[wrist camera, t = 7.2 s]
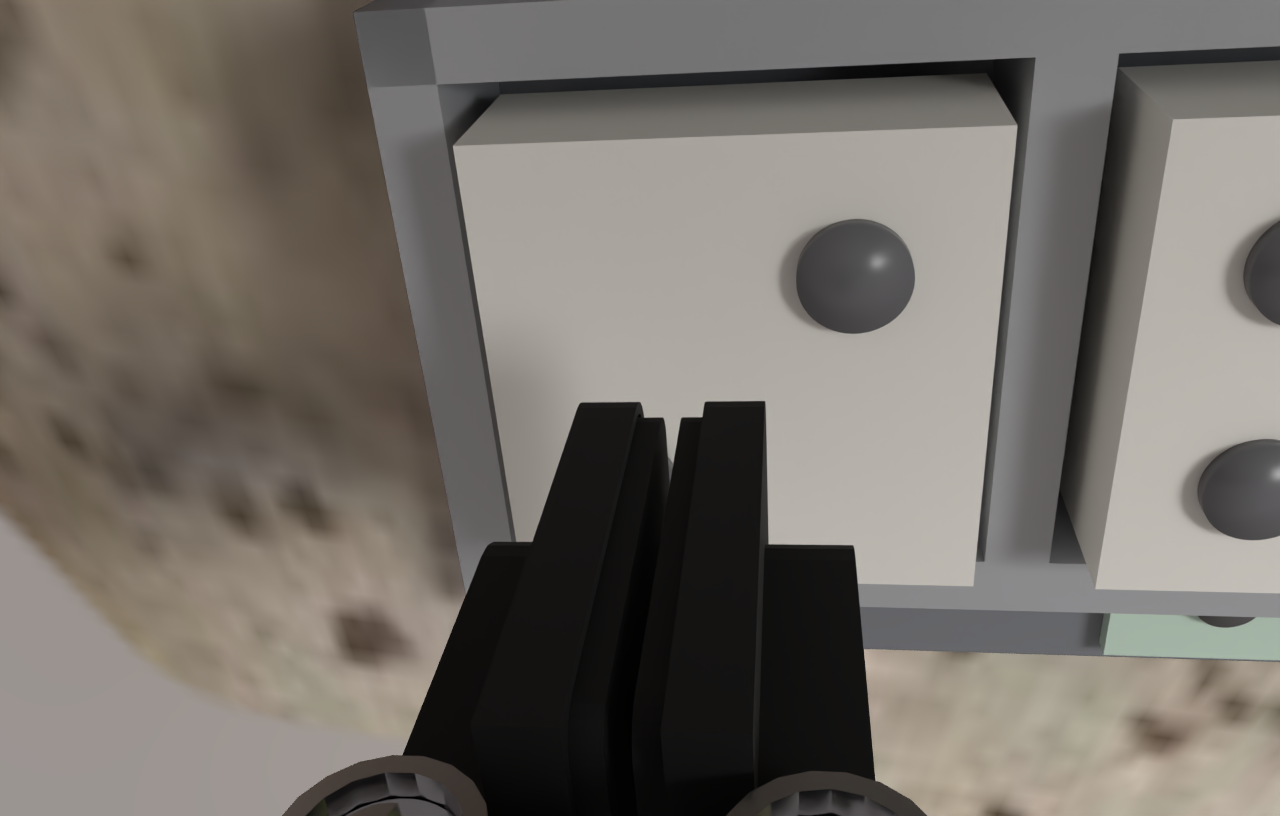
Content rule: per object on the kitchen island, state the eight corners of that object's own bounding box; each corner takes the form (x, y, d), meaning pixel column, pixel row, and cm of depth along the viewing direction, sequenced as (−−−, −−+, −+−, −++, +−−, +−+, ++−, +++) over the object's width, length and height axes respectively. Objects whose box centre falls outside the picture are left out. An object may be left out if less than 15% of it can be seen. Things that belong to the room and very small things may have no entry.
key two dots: (985, 72, 12) (1021, 131, 10) (953, 489, 15) (975, 596, 13) (501, 94, 13) (446, 151, 11) (553, 484, 16) (518, 585, 14)
